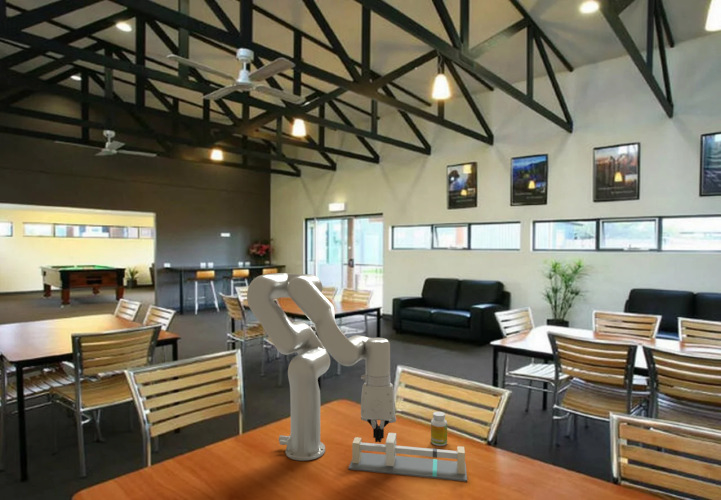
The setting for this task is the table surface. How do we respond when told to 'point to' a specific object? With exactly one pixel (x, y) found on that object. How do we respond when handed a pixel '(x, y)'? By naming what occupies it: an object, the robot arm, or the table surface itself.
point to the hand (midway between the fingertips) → (378, 440)
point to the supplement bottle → (439, 429)
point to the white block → (390, 449)
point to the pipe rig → (410, 461)
